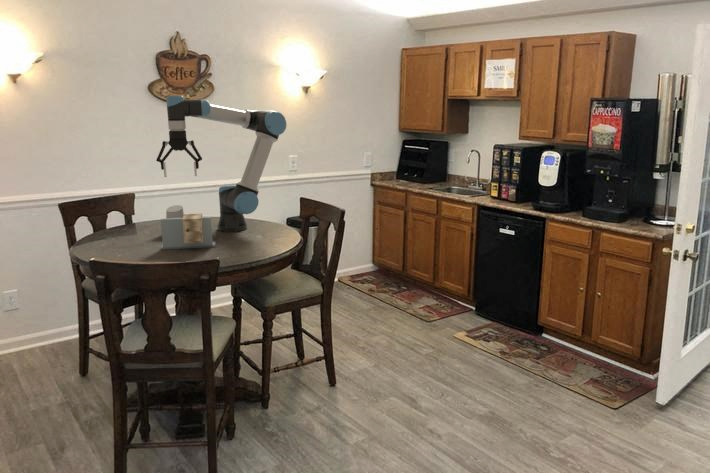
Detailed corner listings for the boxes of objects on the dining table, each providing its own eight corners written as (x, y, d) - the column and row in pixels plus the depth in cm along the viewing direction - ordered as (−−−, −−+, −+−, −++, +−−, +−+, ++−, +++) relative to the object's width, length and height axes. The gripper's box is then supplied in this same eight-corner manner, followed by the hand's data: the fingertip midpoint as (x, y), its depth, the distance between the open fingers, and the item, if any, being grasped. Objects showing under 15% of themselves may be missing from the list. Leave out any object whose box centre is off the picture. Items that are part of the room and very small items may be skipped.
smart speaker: (162, 234, 295) (160, 207, 292) (174, 230, 304) (172, 204, 300) (178, 236, 292) (176, 208, 289) (189, 232, 300) (187, 205, 297)
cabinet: (203, 236, 273) (202, 213, 270) (202, 243, 262) (200, 219, 259) (185, 237, 271) (184, 214, 268) (184, 243, 261) (182, 220, 258)
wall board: (215, 243, 277) (213, 214, 273) (214, 246, 271) (213, 217, 268) (162, 246, 272) (159, 217, 269) (160, 249, 266) (158, 219, 263)
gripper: (205, 129, 273) (208, 174, 278) (149, 130, 268) (153, 176, 273) (205, 130, 266) (207, 176, 271) (147, 130, 261) (151, 178, 266)
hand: (180, 176), depth 272 cm, fingers open, 13 cm apart
